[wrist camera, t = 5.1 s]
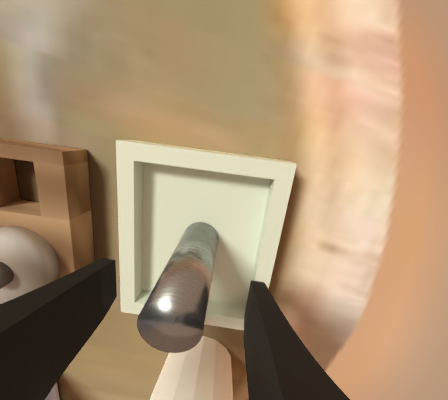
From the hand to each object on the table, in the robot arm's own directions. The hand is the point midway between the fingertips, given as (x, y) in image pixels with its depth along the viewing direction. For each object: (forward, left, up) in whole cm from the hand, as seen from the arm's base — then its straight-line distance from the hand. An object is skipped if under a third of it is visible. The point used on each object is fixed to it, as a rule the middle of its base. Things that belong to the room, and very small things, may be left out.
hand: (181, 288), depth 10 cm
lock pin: (0, 0, -5) cm, 5 cm away
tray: (0, 0, -5) cm, 5 cm away
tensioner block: (0, +12, -5) cm, 13 cm away
